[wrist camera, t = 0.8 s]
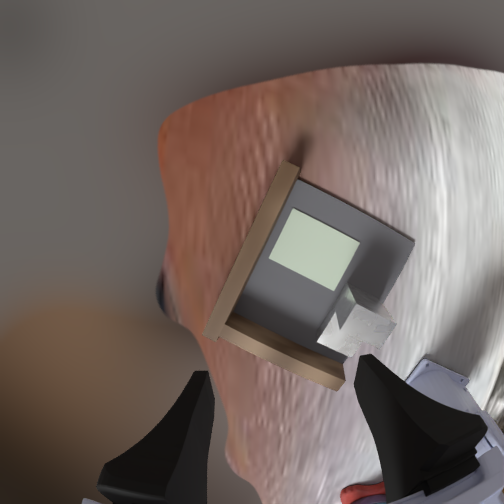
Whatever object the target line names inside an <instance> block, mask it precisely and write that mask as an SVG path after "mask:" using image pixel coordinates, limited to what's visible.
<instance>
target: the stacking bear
mask: <svg viewBox="0 0 504 504" xmlns="http://www.w3.org/2000/svg"><path fill="white" fill-rule="evenodd" d="M340 498H341V502H342V504H386V494H385V486H384V482H381V483H378V484H375V485H368V486H366V485H353V486H348V487H347V488H344V489H343V490H342V491H341V494H340Z"/></svg>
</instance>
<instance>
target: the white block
mask: <svg viewBox="0 0 504 504" xmlns="http://www.w3.org/2000/svg"><path fill="white" fill-rule="evenodd" d="M395 326H396V322H395V321H394V319H393V318H392V316H391V315H390V313H389V312H388V310H387V309H386V307H385V306H384V305H383V303H382V302H381V300H380V299H378V298H376V297H374V296H372V295H370V294H368V293H366V292H365V291H363V290H361V289H359V288H357V287H355V286H353V285H351V284H349V283H347V282H346V284H345V286H344V288H343V289H342V291H341V293H340V295H339V296H338V298H337V300H336V301H335V303H334V305H333V306H332V308H331V310H330V312H329V313H328V315H327V316H326V318H325V320H324V321H323V323H322V325H321V326H320V328H319V329H318V331H317V333H316V336H317V342H318V343H320V344H322V345H324V346H327V347H329V348H331V349H333V350H335V351H338V352H340V353H342V354H344V355H346V356H349V357H352V356H353V355H354V353H355V352H356V350H357V349H358V348H359V346H360V345H361V343H362V342H365V343H368V344H370V345H372V346H374V347H376V348H378V349H380V348H381V347H382V345H383V344H384V342H385V341H386V340H387V338H388V337H389V335H390V334H391V332H392V330H393V329H394V327H395Z"/></svg>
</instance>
